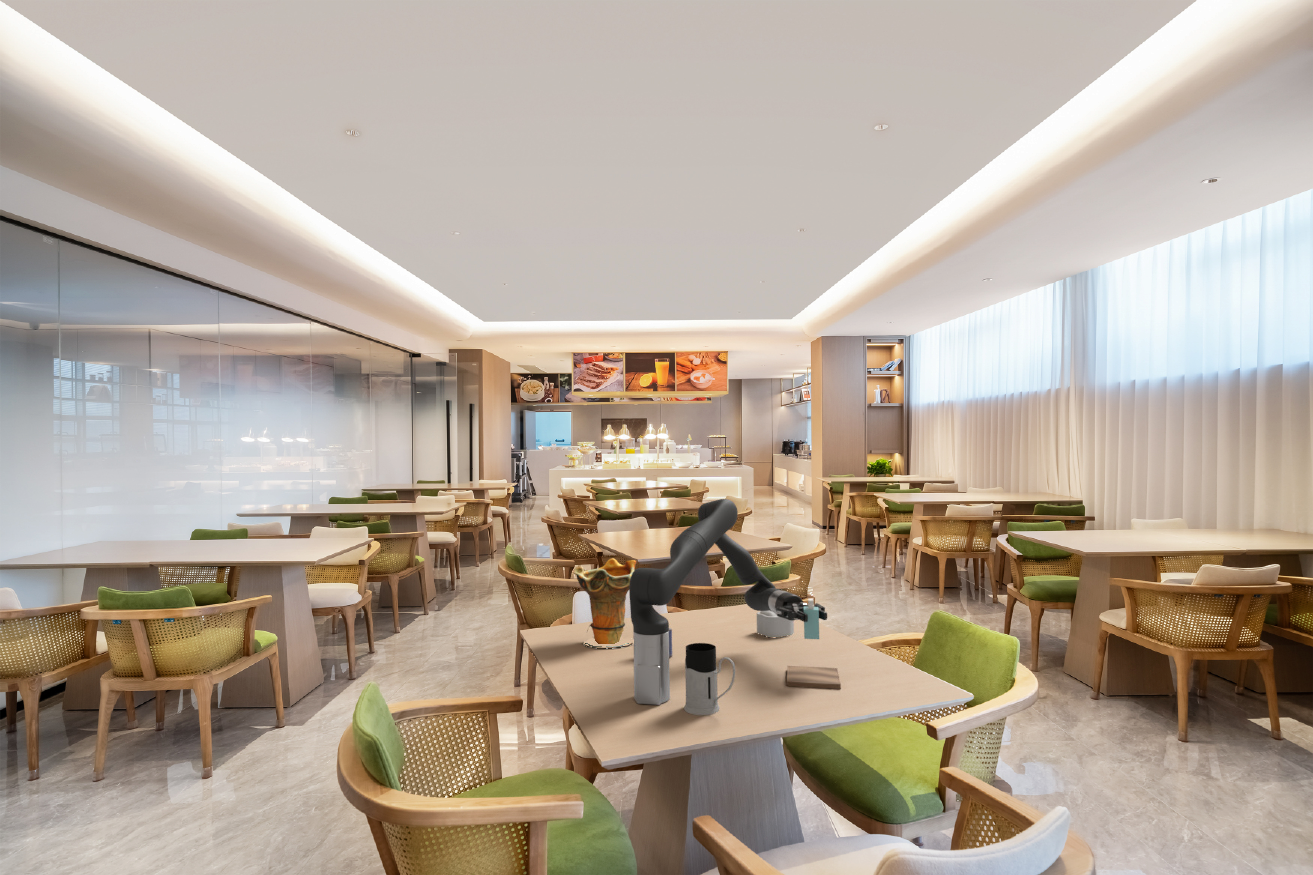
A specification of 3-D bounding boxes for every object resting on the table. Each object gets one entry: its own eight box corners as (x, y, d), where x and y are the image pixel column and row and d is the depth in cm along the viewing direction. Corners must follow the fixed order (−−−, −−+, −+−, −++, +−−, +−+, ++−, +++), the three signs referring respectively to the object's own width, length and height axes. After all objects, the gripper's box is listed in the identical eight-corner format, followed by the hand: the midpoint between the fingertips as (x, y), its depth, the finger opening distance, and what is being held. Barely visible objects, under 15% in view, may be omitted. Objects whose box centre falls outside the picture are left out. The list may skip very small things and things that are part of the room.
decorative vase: (561, 646, 217) (563, 561, 220) (599, 633, 238) (600, 555, 240) (615, 654, 208) (616, 564, 210) (649, 640, 228) (650, 559, 230)
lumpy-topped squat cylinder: (753, 632, 233) (752, 608, 234) (782, 627, 239) (781, 603, 240) (771, 639, 224) (770, 613, 224) (801, 634, 230) (800, 609, 230)
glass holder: (697, 699, 168) (696, 640, 169) (745, 712, 159) (744, 649, 160) (676, 709, 161) (675, 648, 162) (725, 723, 152) (724, 658, 153)
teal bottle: (819, 639, 181) (818, 601, 181) (804, 638, 181) (803, 600, 182) (818, 635, 185) (817, 598, 185) (804, 634, 185) (803, 597, 186)
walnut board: (840, 688, 174) (840, 684, 174) (787, 685, 177) (786, 681, 177) (837, 672, 188) (837, 667, 188) (787, 669, 191) (787, 665, 191)
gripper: (763, 594, 195) (793, 605, 179) (806, 590, 199) (838, 601, 183) (764, 619, 194) (793, 633, 178) (807, 615, 199) (839, 628, 183)
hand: (816, 617), depth 181 cm, fingers closed on teal bottle, 5 cm apart
